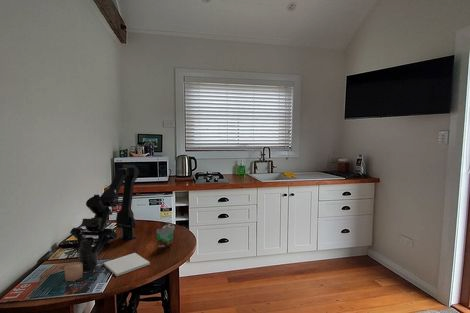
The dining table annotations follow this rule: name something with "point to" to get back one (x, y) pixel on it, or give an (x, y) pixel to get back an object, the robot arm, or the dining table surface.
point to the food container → (165, 235)
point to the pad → (126, 264)
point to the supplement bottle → (88, 253)
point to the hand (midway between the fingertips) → (85, 252)
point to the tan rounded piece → (73, 271)
